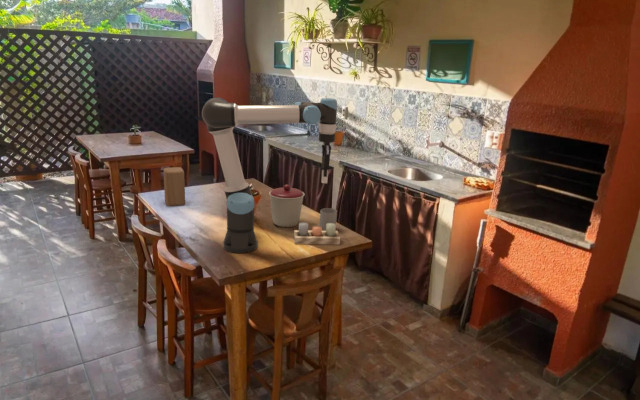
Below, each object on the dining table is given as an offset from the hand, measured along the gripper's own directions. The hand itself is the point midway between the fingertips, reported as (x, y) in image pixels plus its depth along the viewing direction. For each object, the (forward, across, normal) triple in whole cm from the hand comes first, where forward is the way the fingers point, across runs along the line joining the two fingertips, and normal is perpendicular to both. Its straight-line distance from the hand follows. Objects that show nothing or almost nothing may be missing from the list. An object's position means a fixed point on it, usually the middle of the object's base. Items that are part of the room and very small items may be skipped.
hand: (324, 182), depth 213 cm
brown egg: (+25, -7, +3) cm, 26 cm away
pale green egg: (+23, -7, -4) cm, 25 cm away
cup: (+27, +8, -4) cm, 28 cm away
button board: (+26, -7, +3) cm, 27 cm away
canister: (+27, +15, +17) cm, 35 cm away
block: (+27, +46, +79) cm, 95 cm away
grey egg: (+23, -7, +9) cm, 26 cm away
